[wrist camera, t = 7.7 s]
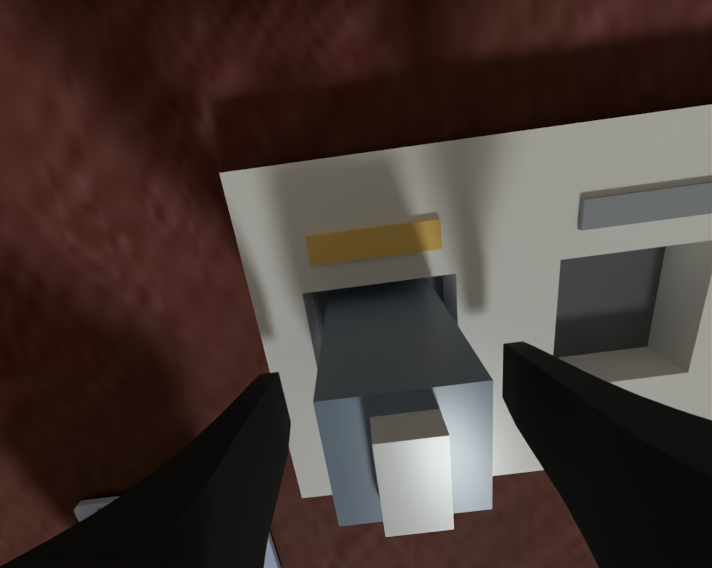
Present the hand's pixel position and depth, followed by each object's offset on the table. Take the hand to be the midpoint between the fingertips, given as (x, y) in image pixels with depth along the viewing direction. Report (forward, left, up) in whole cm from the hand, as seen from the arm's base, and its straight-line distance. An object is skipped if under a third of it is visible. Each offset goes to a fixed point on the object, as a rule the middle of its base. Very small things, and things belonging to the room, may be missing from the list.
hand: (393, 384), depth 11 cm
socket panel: (+5, 0, -4) cm, 6 cm away
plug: (0, 0, -4) cm, 4 cm away
